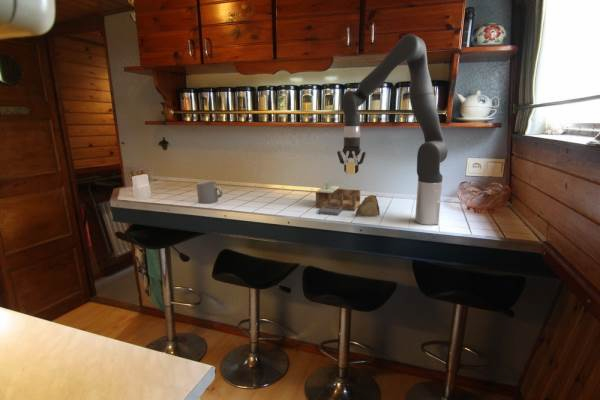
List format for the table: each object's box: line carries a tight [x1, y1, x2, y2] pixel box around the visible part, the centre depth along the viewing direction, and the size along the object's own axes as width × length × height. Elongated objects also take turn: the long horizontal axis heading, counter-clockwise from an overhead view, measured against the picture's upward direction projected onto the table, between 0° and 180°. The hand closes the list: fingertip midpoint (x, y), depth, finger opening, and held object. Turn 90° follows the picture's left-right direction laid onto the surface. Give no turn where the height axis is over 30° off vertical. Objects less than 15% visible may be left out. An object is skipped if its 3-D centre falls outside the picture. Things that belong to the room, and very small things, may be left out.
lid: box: [317, 180, 340, 193], centre depth 169 cm, size 7×12×4 cm, turn 158°
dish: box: [317, 206, 344, 216], centre depth 159 cm, size 9×9×1 cm
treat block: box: [345, 161, 356, 175], centre depth 162 cm, size 4×4×5 cm
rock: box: [354, 194, 381, 218], centre depth 153 cm, size 11×9×10 cm
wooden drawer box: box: [315, 188, 361, 212], centre depth 168 cm, size 19×12×8 cm, turn 68°
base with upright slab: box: [131, 173, 152, 199], centre depth 192 cm, size 9×9×12 cm
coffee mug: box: [196, 180, 223, 205], centre depth 179 cm, size 13×10×10 cm
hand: (351, 172), depth 163 cm, fingers closed on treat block, 4 cm apart
